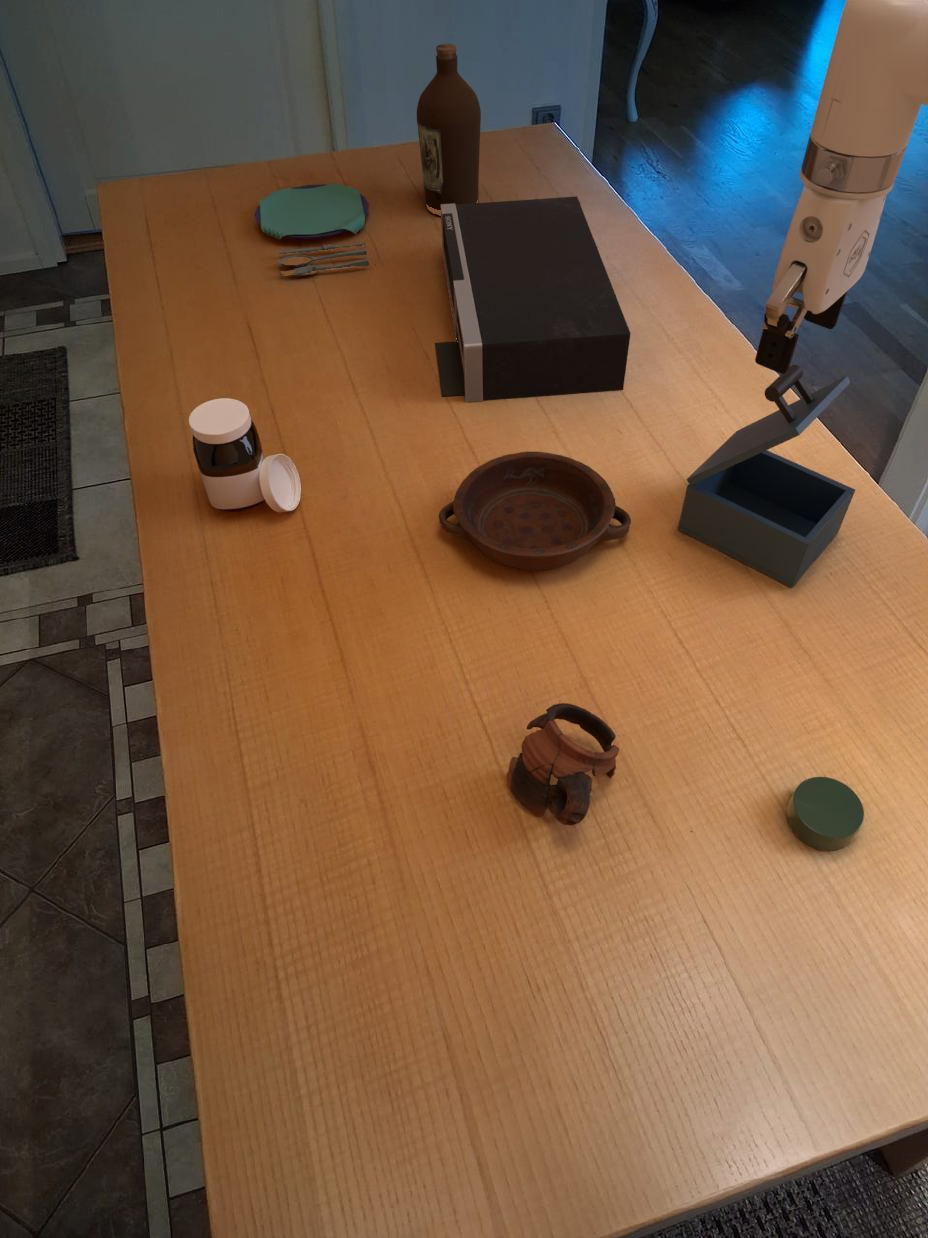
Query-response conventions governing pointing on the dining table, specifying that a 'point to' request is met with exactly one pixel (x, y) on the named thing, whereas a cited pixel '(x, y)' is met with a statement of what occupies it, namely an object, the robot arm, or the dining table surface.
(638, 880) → the dining table surface
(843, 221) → the robot arm
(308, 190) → the cutlery set
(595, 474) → the dish
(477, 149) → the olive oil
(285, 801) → the dining table surface
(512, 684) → the dining table surface
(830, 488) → the lunchbox
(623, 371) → the video player
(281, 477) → the spread jar
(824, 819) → the dark green puck
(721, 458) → the lunchbox lid
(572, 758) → the brown hollow curved piece
